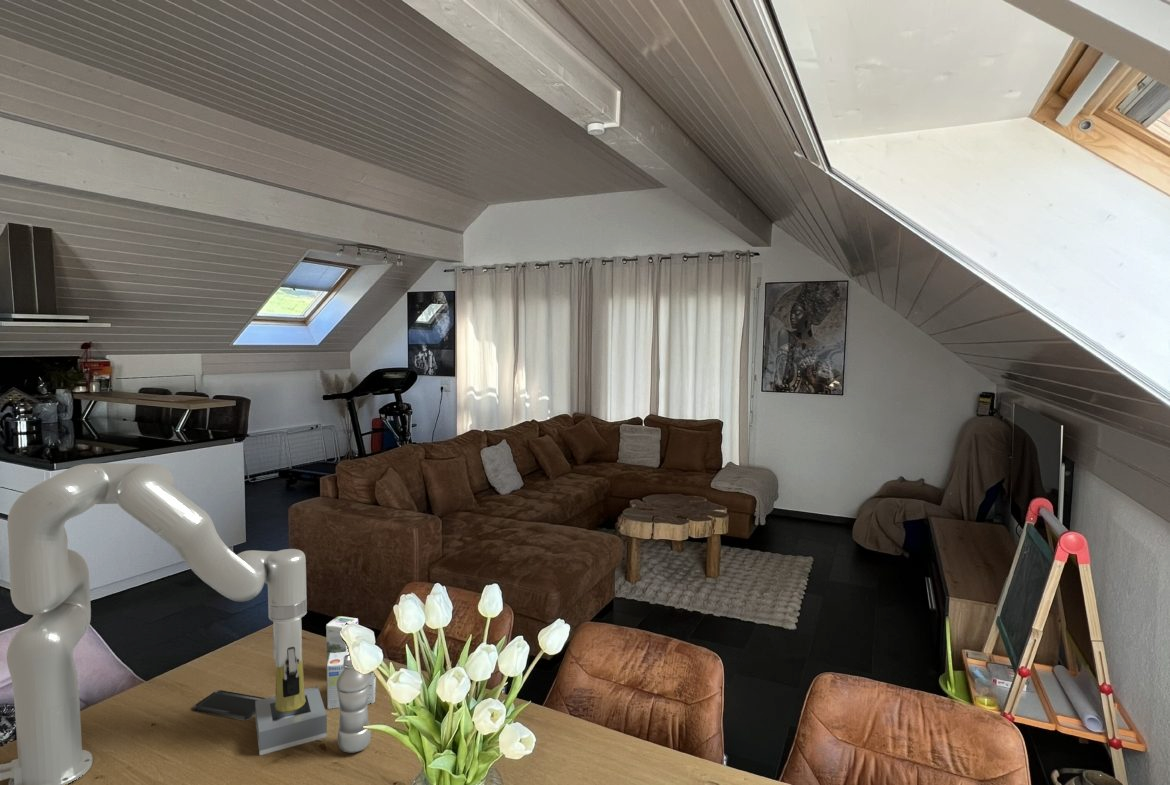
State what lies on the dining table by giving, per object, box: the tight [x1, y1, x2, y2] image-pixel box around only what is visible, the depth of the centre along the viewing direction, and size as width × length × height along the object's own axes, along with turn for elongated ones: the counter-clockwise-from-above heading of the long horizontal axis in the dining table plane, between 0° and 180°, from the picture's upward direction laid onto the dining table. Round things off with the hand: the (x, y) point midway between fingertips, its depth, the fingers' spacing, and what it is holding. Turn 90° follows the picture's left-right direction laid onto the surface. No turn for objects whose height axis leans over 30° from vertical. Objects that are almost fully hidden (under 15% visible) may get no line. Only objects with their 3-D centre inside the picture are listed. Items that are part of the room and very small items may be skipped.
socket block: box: [255, 685, 328, 756], centre depth 142 cm, size 13×13×5 cm
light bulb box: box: [326, 651, 377, 710], centre depth 154 cm, size 11×7×11 cm, turn 106°
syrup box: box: [325, 615, 359, 664], centre depth 164 cm, size 6×6×14 cm
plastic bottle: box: [336, 654, 372, 754], centre depth 136 cm, size 6×7×20 cm
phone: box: [193, 689, 266, 721], centre depth 150 cm, size 8×1×15 cm
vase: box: [275, 652, 306, 712], centre depth 141 cm, size 6×6×14 cm
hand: (289, 687), depth 141 cm, fingers closed on vase, 5 cm apart
